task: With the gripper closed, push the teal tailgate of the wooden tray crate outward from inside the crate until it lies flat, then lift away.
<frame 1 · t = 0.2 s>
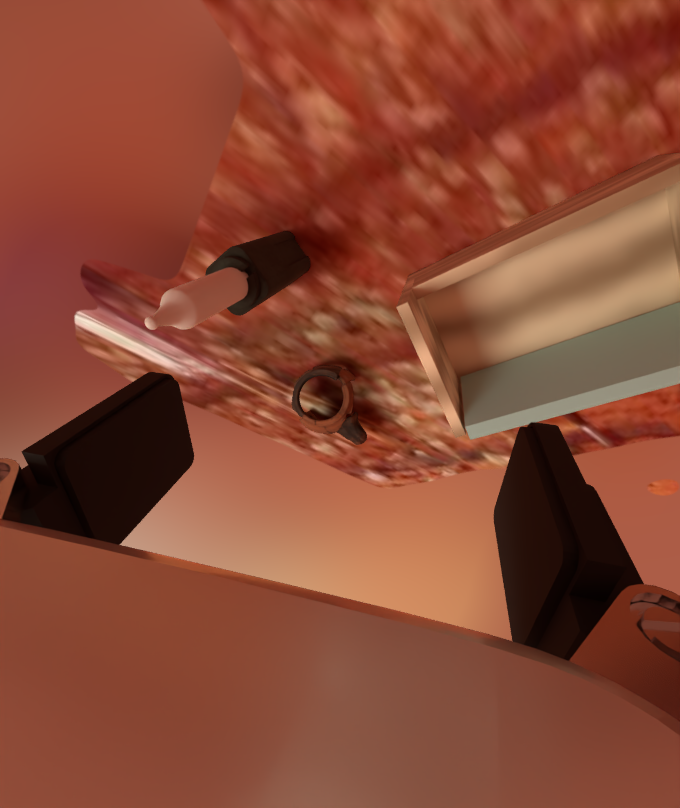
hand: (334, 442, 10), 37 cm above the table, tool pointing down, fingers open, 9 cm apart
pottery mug: (337, 397, 53), on the table
tailgate: (575, 373, 35), point 9 cm above the table, hinge at 0.0°
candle: (286, 259, 45), on the table
wooden tray crate: (536, 287, 40), on the table
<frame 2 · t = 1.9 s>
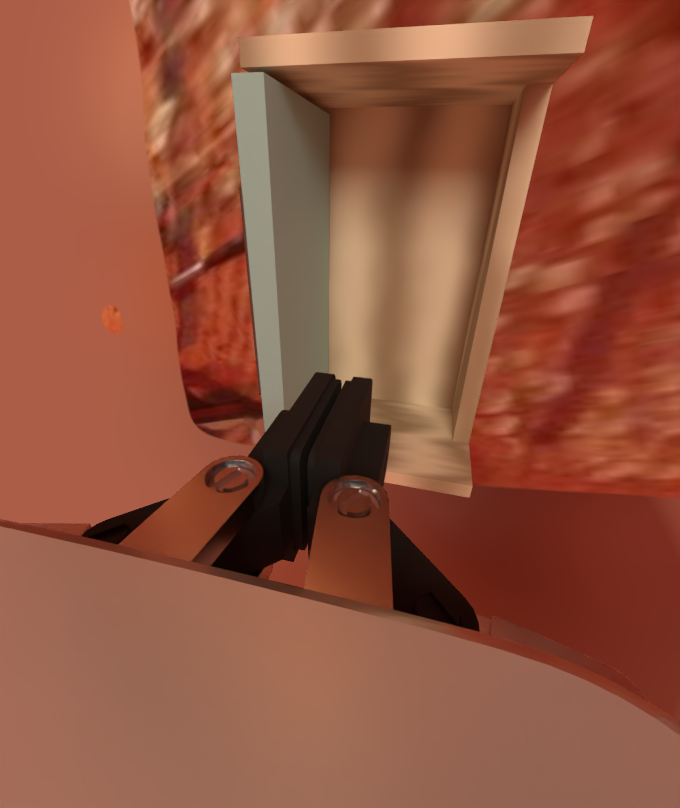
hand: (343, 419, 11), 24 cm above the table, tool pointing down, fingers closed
tailgate: (293, 289, 26), point 9 cm above the table, hinge at 0.0°
wooden tray crate: (402, 272, 32), on the table
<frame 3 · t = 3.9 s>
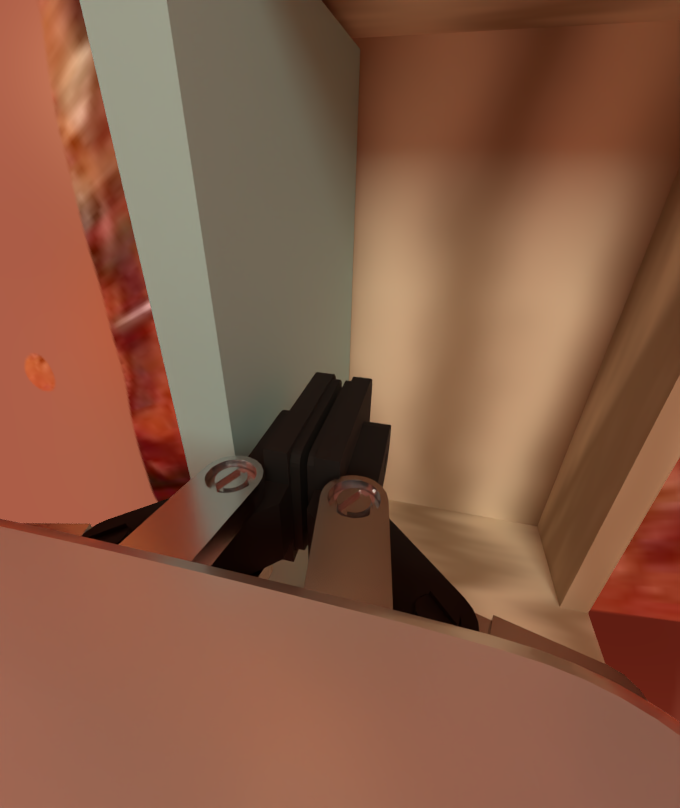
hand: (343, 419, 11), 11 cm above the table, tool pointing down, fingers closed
tailgate: (285, 373, 14), point 9 cm above the table, hinge at 3.5°, touching gripper
wooden tray crate: (464, 321, 20), on the table
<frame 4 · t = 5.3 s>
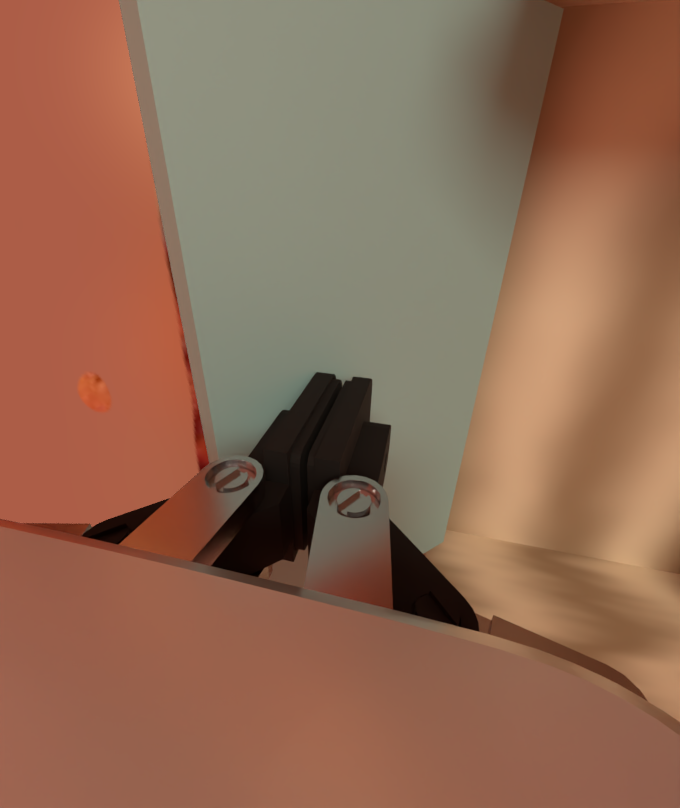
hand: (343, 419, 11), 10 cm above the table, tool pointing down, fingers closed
tailgate: (358, 386, 13), point 7 cm above the table, hinge at 44.1°, touching gripper
wooden tray crate: (612, 344, 18), on the table
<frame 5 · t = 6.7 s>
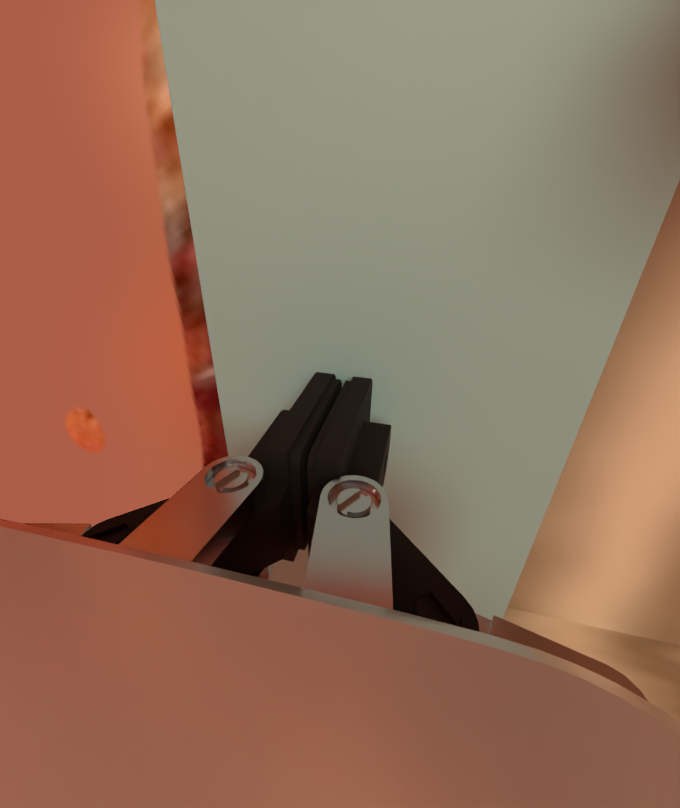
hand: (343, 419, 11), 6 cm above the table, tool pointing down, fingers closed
tailgate: (392, 403, 12), point 4 cm above the table, hinge at 82.0°, touching gripper
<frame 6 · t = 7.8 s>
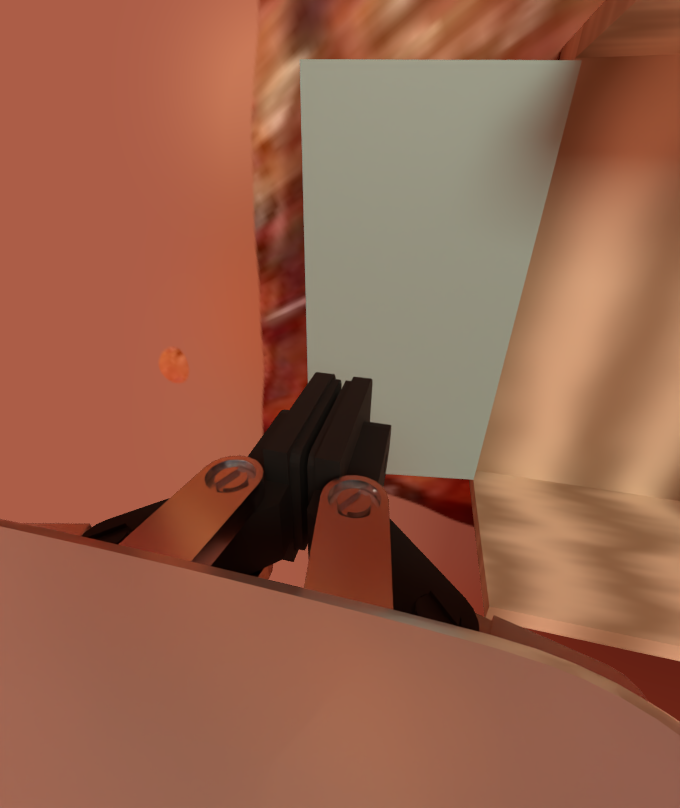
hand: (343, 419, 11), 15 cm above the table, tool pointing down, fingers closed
tailgate: (406, 315, 21), point 4 cm above the table, hinge at 82.1°
wooden tray crate: (628, 312, 22), on the table
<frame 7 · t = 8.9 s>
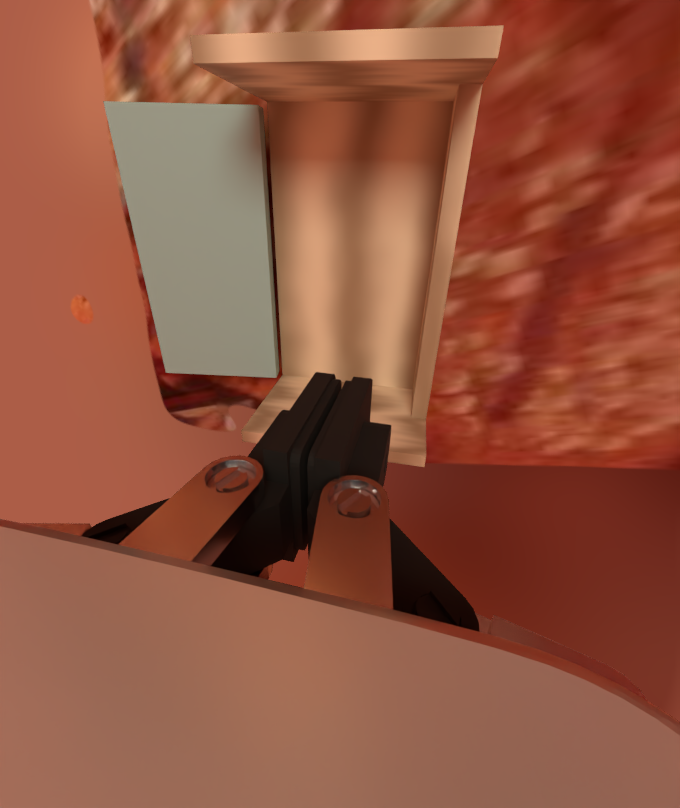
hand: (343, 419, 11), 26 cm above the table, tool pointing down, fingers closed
tailgate: (208, 259, 32), point 4 cm above the table, hinge at 82.1°
wooden tray crate: (362, 260, 34), on the table
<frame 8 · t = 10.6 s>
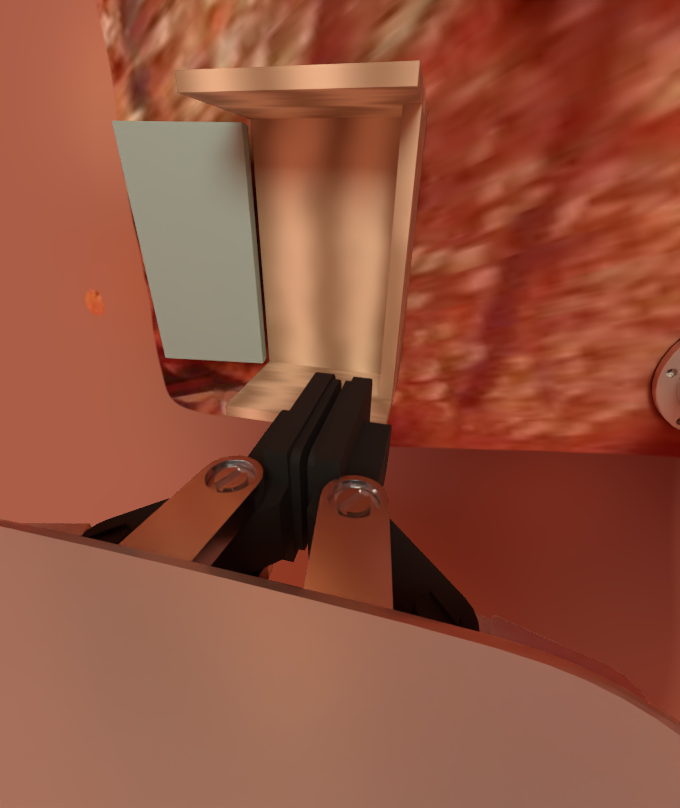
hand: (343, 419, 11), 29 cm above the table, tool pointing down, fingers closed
tailgate: (202, 256, 36), point 4 cm above the table, hinge at 82.1°
wooden tray crate: (339, 257, 37), on the table
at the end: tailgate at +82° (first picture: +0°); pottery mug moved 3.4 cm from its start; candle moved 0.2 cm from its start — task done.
